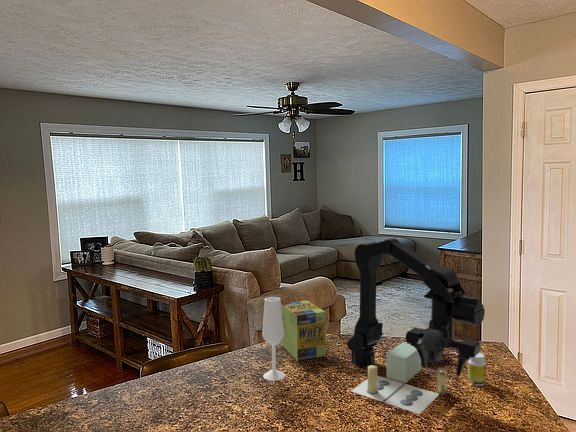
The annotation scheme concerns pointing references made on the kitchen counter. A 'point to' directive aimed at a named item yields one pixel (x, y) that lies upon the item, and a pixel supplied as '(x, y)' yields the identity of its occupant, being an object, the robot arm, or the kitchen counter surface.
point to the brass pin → (441, 381)
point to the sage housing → (403, 363)
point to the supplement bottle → (477, 369)
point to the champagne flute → (273, 332)
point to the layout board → (394, 392)
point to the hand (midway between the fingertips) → (441, 371)
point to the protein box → (303, 330)
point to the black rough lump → (433, 355)
